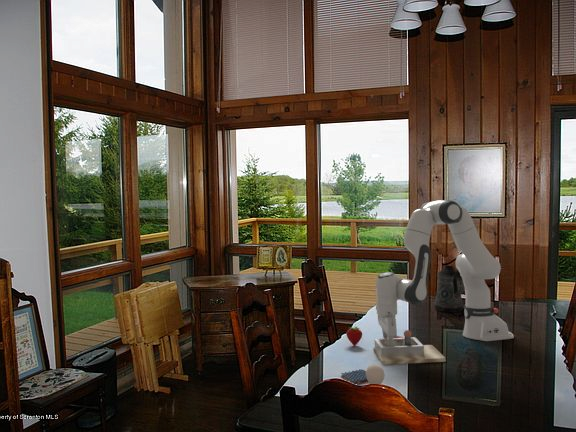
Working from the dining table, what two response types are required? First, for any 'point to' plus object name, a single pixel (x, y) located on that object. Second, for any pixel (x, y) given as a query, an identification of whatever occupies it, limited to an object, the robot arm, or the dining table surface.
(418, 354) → the steel link
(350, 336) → the strawberry
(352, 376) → the woven mat
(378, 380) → the light bulb
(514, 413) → the dining table surface
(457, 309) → the beer stein
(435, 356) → the board
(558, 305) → the dining table surface
